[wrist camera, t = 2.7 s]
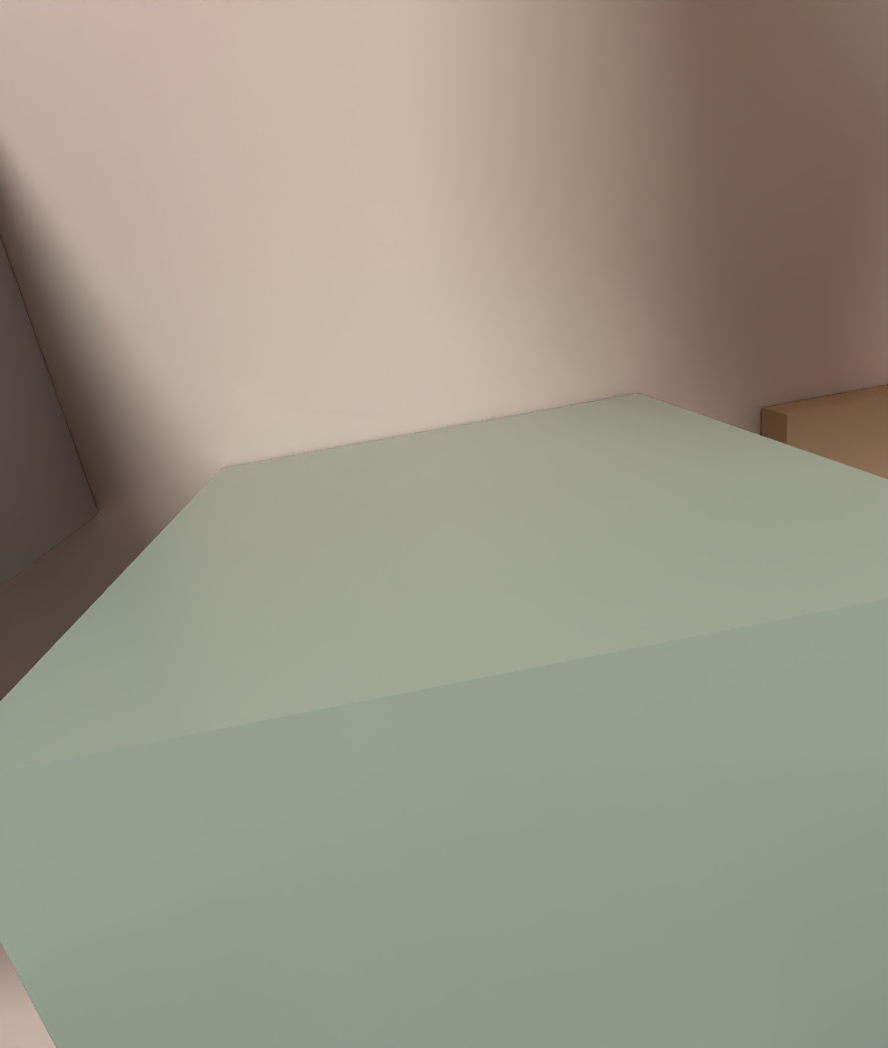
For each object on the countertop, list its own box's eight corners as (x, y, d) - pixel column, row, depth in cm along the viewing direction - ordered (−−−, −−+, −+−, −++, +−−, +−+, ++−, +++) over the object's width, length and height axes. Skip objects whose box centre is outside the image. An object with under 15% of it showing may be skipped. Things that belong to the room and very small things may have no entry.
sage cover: (680, 1045, 13) (910, 1613, 7) (402, 1106, 13) (420, 1738, 7) (638, 392, 9) (1109, 555, 3) (220, 467, 9) (-83, 787, 3)
